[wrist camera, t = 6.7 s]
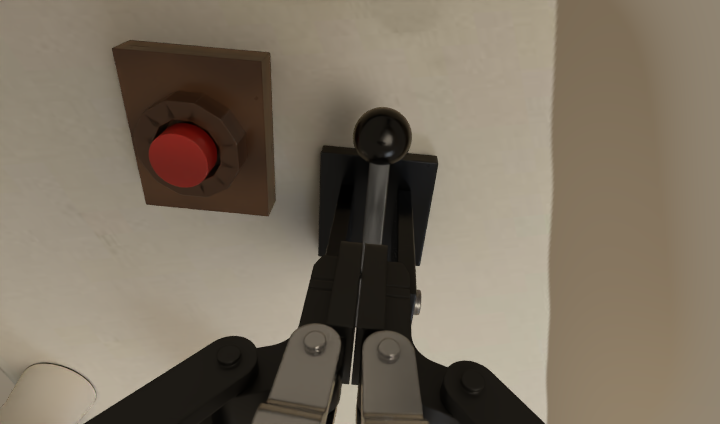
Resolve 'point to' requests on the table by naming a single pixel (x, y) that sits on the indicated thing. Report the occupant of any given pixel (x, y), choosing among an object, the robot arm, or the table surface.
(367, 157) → the switch lever
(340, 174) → the switch bracket
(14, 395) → the cup
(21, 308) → the table surface
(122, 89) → the button block
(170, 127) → the button
